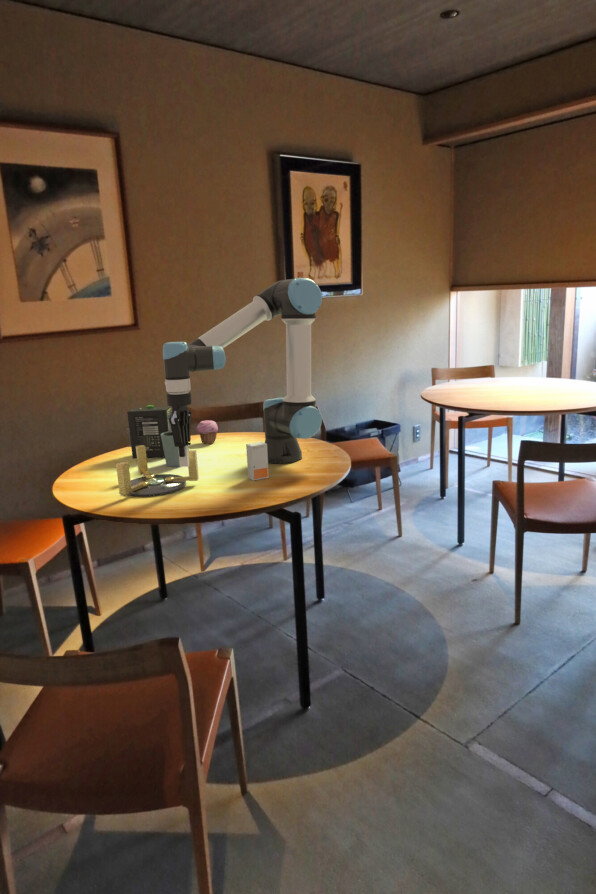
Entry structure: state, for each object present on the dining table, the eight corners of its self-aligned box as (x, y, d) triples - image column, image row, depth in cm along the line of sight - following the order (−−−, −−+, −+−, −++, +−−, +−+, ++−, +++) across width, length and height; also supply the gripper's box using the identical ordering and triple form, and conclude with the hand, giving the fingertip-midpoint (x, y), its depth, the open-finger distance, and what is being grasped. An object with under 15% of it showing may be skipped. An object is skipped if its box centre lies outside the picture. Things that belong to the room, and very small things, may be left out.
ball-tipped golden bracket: (143, 484, 198) (140, 455, 196) (150, 485, 197) (147, 456, 194) (119, 494, 189) (115, 464, 187) (126, 495, 188) (122, 464, 185)
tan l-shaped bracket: (164, 482, 199) (161, 453, 197) (166, 480, 202) (163, 451, 199) (197, 481, 199) (194, 452, 197) (198, 478, 202) (196, 450, 199)
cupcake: (194, 443, 261) (192, 420, 259) (211, 439, 267) (209, 417, 264) (206, 446, 255) (204, 423, 252) (223, 442, 260) (221, 419, 258)
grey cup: (182, 468, 223) (178, 436, 220) (158, 466, 226) (155, 435, 223) (195, 461, 232) (193, 430, 229) (172, 459, 235) (169, 429, 233)
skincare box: (252, 481, 202) (250, 446, 199) (247, 478, 206) (245, 443, 203) (269, 478, 205) (267, 443, 202) (264, 475, 208) (262, 441, 205)
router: (174, 457, 240) (169, 407, 235) (129, 459, 240) (123, 409, 235) (179, 452, 247) (174, 403, 243) (134, 454, 248) (129, 405, 243)
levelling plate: (198, 481, 204) (197, 474, 204) (157, 499, 187) (156, 492, 187) (153, 476, 214) (153, 469, 213) (110, 492, 197) (109, 485, 197)
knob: (155, 478, 204) (152, 450, 202) (147, 480, 203) (144, 452, 200) (146, 471, 213) (143, 444, 211) (138, 473, 212) (135, 446, 210)
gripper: (175, 389, 196) (181, 460, 201) (158, 395, 183) (165, 471, 189) (197, 389, 194) (202, 460, 200) (181, 395, 182) (187, 471, 187)
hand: (184, 465), depth 194 cm, fingers closed
